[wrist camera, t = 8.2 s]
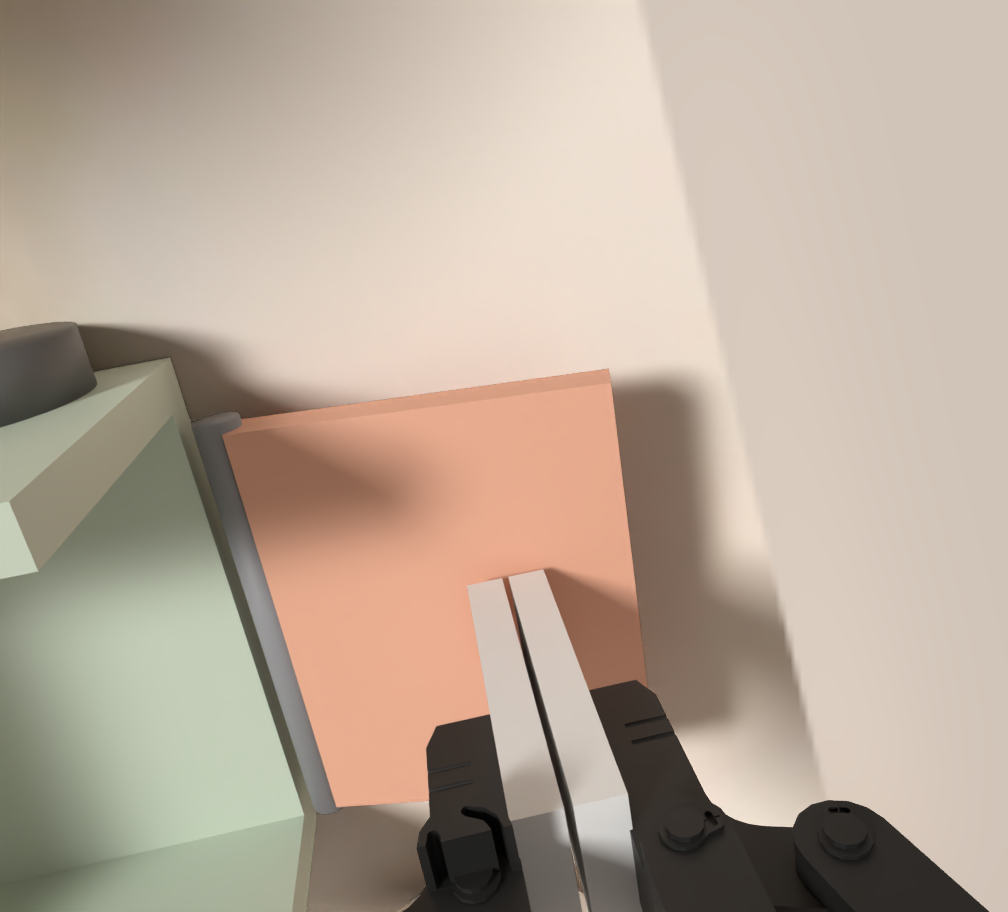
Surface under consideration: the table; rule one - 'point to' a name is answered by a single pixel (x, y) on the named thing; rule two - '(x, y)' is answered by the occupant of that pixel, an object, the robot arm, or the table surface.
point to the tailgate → (418, 559)
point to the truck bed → (129, 658)
